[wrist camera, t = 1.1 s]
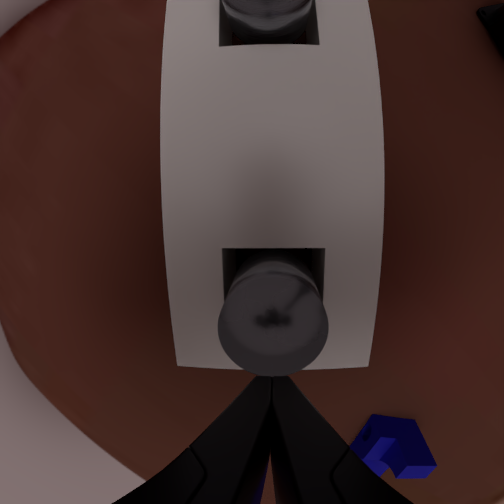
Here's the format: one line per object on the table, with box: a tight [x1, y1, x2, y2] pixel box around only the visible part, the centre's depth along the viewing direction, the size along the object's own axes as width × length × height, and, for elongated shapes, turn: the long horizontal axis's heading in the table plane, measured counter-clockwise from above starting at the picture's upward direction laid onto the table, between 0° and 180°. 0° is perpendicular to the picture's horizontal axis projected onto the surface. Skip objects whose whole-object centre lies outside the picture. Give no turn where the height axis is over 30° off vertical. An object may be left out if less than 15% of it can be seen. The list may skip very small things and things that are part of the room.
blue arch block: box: [349, 414, 437, 478], centre depth 20 cm, size 12×4×6 cm, turn 162°
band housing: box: [160, 0, 384, 370], centre depth 15 cm, size 10×22×5 cm, turn 1°
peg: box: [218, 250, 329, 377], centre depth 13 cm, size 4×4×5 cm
